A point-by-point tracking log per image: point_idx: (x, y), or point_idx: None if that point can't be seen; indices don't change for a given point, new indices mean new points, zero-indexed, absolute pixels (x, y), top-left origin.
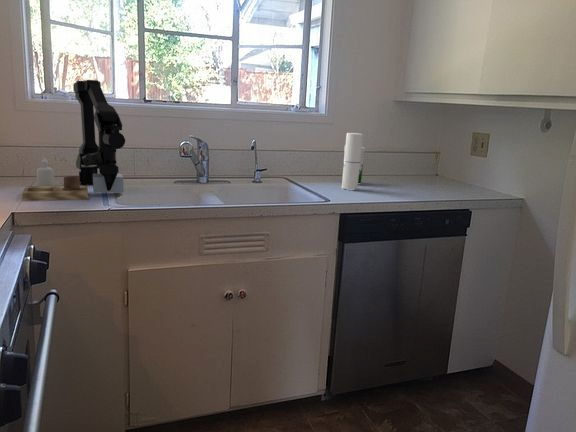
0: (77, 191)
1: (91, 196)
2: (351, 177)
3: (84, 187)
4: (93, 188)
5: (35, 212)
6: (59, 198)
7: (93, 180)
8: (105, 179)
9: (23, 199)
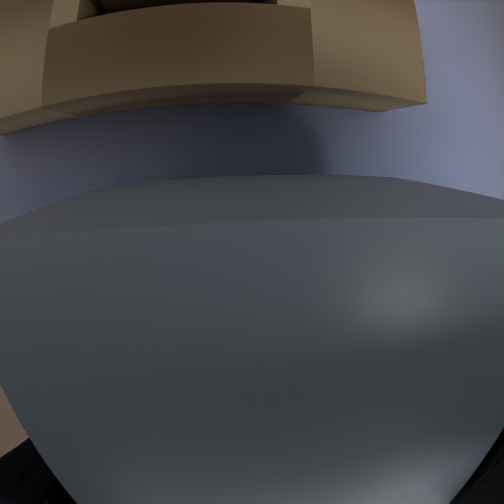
0: (17, 1)
1: (152, 149)
2: None
3: (311, 45)
4: (285, 176)
5: None
6: None
7: (20, 216)
8: (5, 463)
9: None
